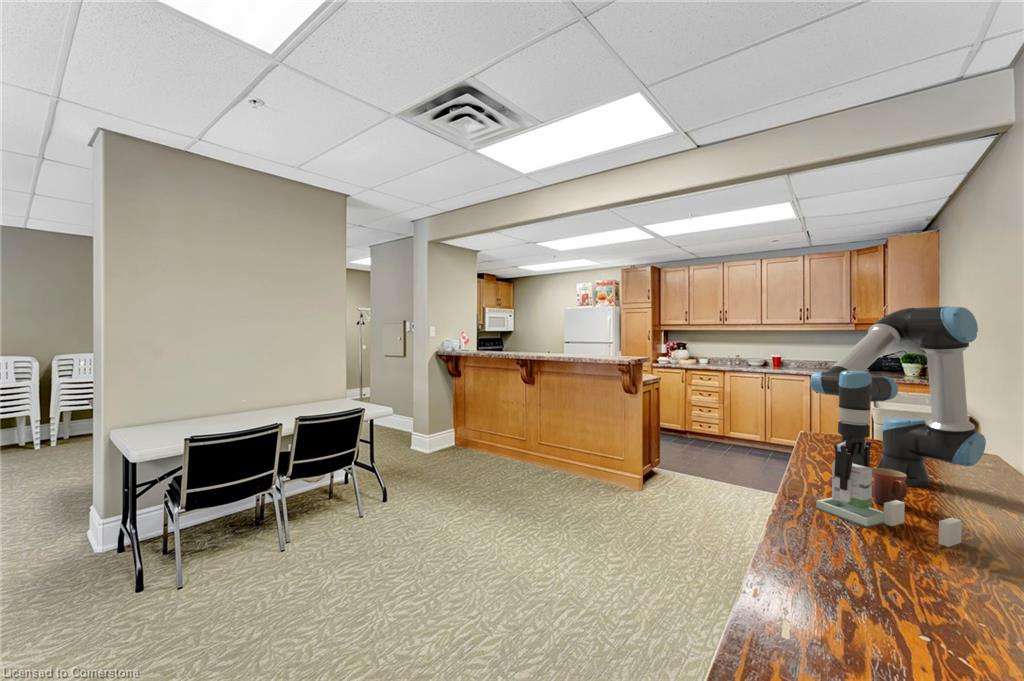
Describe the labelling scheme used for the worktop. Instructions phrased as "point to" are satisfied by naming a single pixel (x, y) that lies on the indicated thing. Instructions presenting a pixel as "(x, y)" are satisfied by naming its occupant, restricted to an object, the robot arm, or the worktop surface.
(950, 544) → the white block pair
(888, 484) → the mug
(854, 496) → the ink box
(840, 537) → the worktop surface
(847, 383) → the robot arm
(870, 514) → the pale green tray
